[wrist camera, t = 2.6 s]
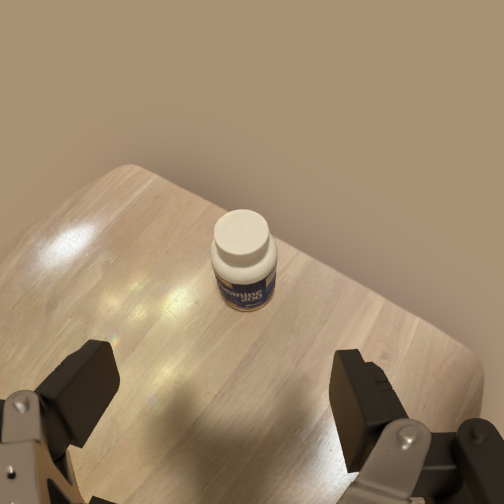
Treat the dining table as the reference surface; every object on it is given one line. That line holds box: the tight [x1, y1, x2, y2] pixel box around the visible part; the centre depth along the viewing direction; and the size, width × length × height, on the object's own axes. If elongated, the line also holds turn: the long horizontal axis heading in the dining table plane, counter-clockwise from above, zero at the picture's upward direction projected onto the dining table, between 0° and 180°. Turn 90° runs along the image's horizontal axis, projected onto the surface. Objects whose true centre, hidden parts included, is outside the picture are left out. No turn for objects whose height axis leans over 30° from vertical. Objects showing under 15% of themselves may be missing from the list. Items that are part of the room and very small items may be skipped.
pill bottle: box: [210, 209, 277, 311], centre depth 25 cm, size 5×5×10 cm
